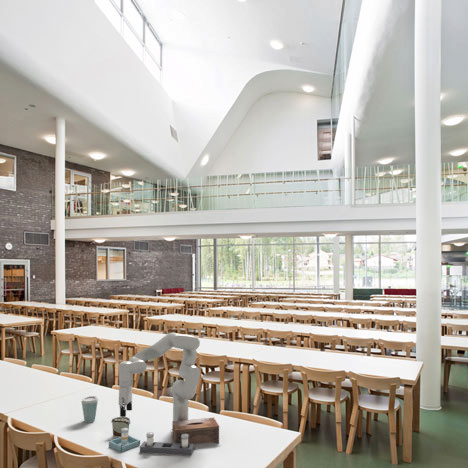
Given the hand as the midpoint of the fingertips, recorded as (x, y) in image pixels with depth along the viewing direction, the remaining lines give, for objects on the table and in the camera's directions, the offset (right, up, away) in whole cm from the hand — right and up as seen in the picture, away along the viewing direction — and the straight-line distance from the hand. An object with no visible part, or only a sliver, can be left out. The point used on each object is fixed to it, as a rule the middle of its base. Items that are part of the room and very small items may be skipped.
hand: (126, 413), depth 245 cm
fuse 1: (+15, -17, -8) cm, 24 cm away
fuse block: (+25, -18, -9) cm, 32 cm away
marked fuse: (-1, -18, -2) cm, 18 cm away
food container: (-6, -20, +16) cm, 26 cm away
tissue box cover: (+39, -20, +8) cm, 45 cm away
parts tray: (-1, -19, -2) cm, 19 cm away
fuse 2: (+35, -17, -10) cm, 40 cm away
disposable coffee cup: (-35, -22, +39) cm, 57 cm away
